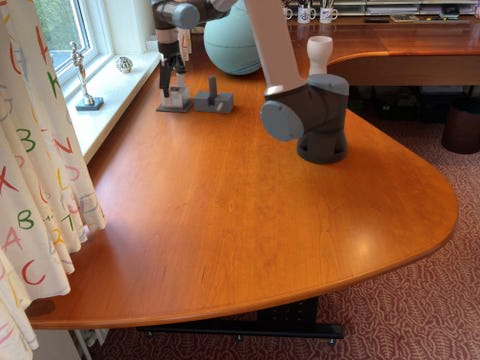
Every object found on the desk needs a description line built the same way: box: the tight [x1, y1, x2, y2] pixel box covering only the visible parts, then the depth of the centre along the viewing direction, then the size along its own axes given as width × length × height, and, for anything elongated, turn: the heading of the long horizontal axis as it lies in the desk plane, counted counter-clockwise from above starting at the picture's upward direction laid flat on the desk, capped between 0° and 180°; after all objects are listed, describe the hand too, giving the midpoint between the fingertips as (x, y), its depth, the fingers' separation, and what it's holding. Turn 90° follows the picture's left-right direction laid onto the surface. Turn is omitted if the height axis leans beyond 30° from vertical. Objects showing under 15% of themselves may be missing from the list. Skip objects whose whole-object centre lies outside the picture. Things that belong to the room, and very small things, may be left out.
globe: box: [203, 0, 262, 76], centre depth 171 cm, size 30×30×30 cm
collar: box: [160, 84, 191, 109], centre depth 151 cm, size 8×8×6 cm
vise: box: [192, 75, 235, 114], centre depth 145 cm, size 12×13×12 cm
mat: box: [155, 97, 194, 114], centre depth 153 cm, size 12×12×1 cm
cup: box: [306, 35, 334, 76], centre depth 170 cm, size 11×11×15 cm
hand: (175, 97), depth 151 cm, fingers open, 13 cm apart
